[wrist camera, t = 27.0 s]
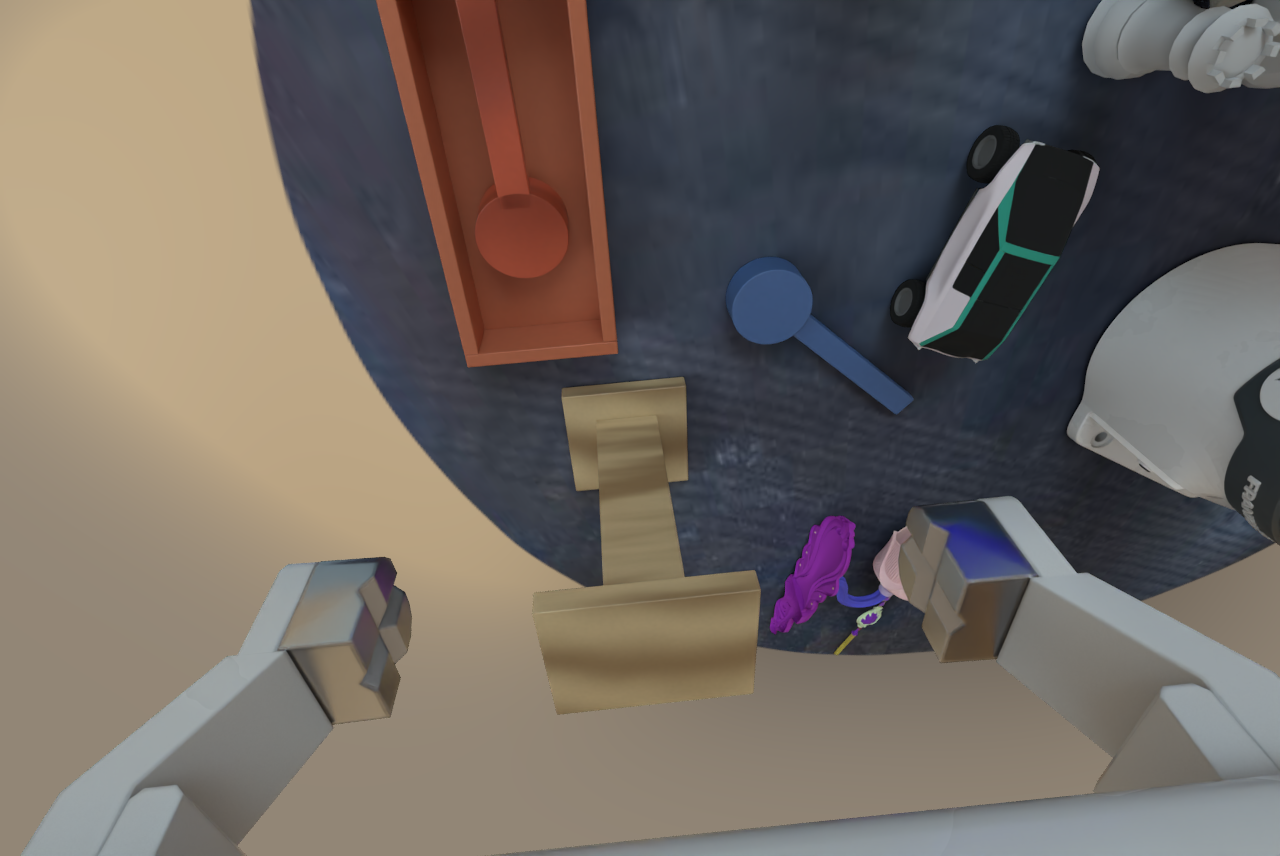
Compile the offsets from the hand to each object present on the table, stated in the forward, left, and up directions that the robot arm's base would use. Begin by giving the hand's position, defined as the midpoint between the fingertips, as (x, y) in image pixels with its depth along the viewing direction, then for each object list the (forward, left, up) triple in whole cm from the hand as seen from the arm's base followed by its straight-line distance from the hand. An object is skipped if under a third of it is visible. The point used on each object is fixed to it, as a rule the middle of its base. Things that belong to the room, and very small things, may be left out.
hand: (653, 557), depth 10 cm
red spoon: (+4, +2, -26) cm, 26 cm away
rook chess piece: (-18, -20, -30) cm, 40 cm away
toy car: (-21, -9, -30) cm, 37 cm away
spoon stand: (-13, +14, -29) cm, 35 cm away
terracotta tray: (+2, +4, -29) cm, 30 cm away
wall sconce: (-42, +25, -29) cm, 57 cm away
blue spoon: (-19, +1, -29) cm, 35 cm away
